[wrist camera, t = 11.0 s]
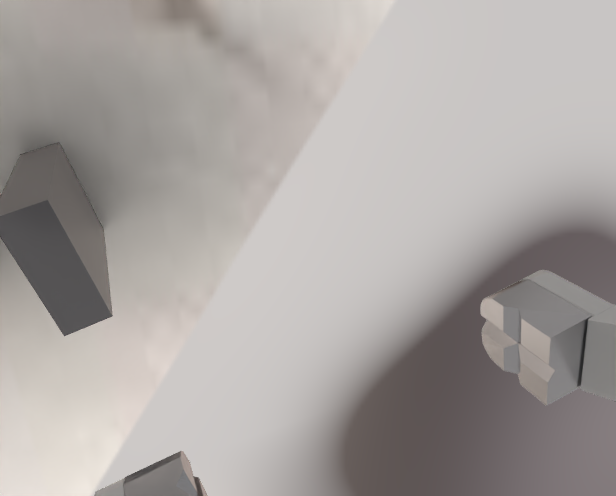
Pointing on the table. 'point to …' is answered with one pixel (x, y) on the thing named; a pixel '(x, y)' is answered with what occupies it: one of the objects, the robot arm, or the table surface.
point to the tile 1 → (56, 238)
